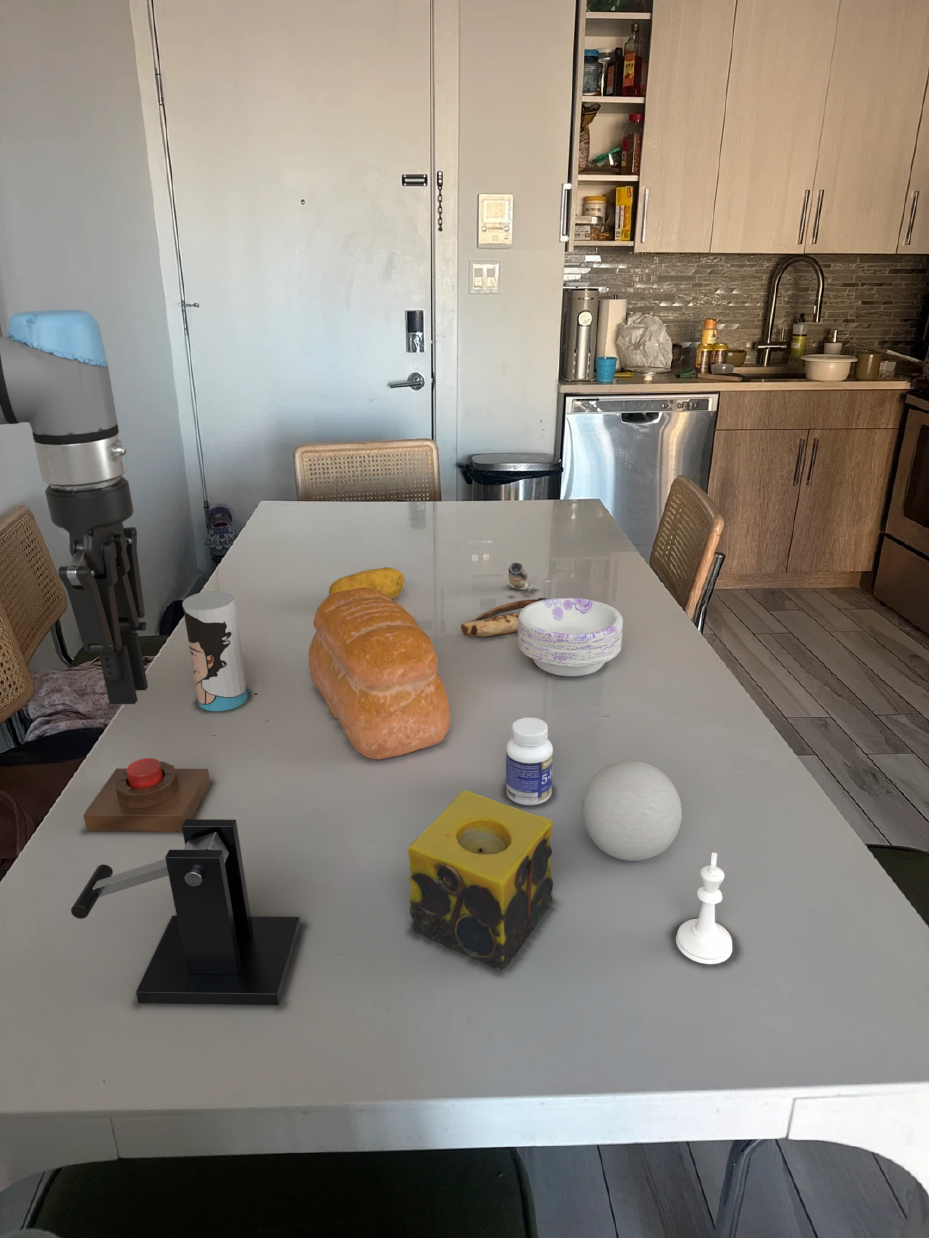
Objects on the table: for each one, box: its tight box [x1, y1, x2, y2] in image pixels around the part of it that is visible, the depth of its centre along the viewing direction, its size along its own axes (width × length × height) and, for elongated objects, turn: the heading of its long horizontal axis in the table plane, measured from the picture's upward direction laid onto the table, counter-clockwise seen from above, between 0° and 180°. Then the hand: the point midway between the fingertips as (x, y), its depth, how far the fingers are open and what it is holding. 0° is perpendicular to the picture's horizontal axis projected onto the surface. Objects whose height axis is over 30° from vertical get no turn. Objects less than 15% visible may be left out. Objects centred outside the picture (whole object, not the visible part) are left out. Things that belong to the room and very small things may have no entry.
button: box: [126, 757, 163, 788], centre depth 97 cm, size 4×4×2 cm
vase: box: [504, 562, 537, 592], centre depth 155 cm, size 5×5×6 cm
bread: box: [308, 587, 451, 760], centre depth 115 cm, size 14×26×15 cm, turn 24°
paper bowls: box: [517, 597, 624, 678], centre depth 128 cm, size 15×15×8 cm
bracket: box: [135, 818, 301, 1006], centre depth 75 cm, size 12×9×14 cm
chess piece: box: [675, 852, 733, 965], centre depth 77 cm, size 5×5×10 cm
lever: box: [70, 832, 229, 920], centre depth 74 cm, size 13×5×2 cm, turn 88°
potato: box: [328, 566, 406, 601], centre depth 150 cm, size 8×14×7 cm, turn 118°
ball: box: [581, 760, 683, 862], centre depth 89 cm, size 10×10×10 cm
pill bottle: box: [505, 717, 554, 806], centre depth 98 cm, size 5×5×9 cm
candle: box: [407, 789, 554, 971], centre depth 80 cm, size 10×10×10 cm
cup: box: [182, 590, 249, 712], centre depth 119 cm, size 7×7×15 cm
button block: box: [83, 761, 212, 833], centre depth 98 cm, size 11×9×4 cm
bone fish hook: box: [460, 597, 548, 638], centre depth 141 cm, size 9×5×18 cm
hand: (129, 695), depth 93 cm, fingers open, 2 cm apart
